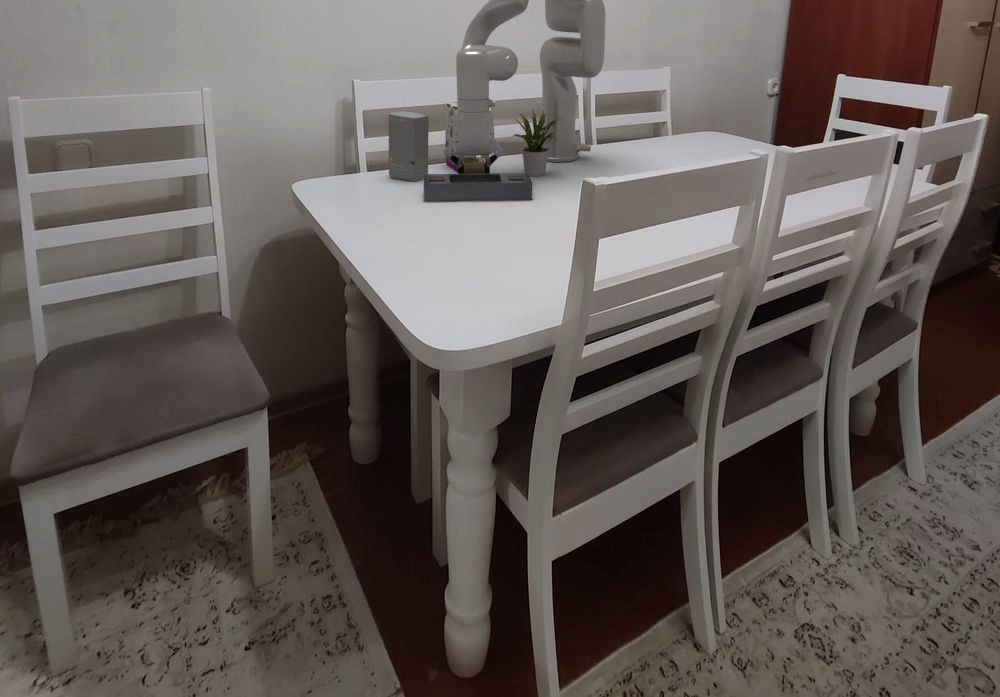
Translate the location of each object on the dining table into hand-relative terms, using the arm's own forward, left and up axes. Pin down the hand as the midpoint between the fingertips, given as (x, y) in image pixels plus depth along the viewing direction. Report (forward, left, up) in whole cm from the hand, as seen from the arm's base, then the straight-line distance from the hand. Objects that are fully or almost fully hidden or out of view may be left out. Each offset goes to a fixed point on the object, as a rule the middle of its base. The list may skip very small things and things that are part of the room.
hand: (474, 181), depth 176 cm
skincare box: (+16, -8, -1) cm, 18 cm away
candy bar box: (+3, -17, -1) cm, 17 cm away
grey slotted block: (-1, +10, -1) cm, 10 cm away
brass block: (0, 0, -1) cm, 1 cm away
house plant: (-17, -9, -1) cm, 19 cm away
